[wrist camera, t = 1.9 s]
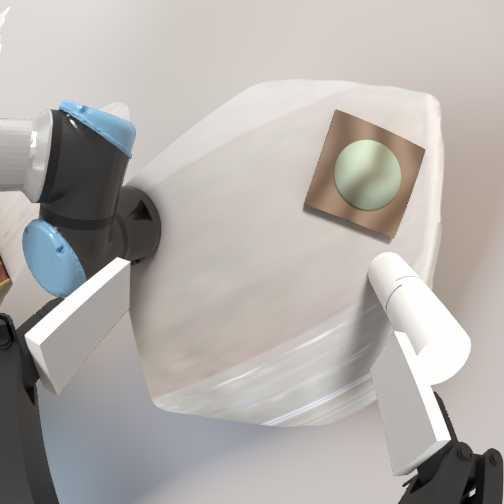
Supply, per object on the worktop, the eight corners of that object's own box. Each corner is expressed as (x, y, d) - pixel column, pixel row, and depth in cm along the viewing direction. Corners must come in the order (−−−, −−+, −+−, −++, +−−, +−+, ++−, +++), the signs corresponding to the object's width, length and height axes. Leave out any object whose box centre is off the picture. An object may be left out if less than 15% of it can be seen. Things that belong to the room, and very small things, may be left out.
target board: (304, 202, 45) (304, 204, 43) (334, 111, 40) (336, 108, 38) (391, 236, 44) (394, 239, 42) (422, 149, 39) (426, 149, 37)
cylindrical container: (359, 271, 47) (401, 363, 23) (389, 243, 44) (457, 317, 21) (383, 297, 47) (428, 394, 24) (411, 271, 45) (478, 354, 22)
